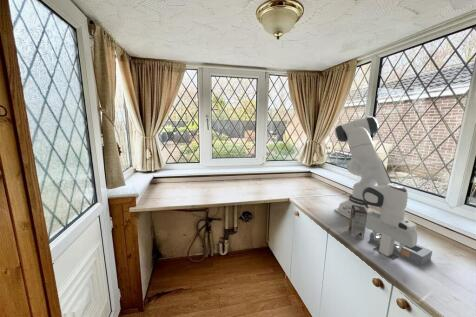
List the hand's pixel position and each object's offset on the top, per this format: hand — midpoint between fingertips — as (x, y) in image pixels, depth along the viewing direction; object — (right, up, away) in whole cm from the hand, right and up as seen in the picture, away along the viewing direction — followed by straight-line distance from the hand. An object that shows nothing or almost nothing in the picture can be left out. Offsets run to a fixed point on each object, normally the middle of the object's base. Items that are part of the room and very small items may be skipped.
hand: (386, 245), depth 96 cm
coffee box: (-5, -2, +17) cm, 18 cm away
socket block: (+9, -4, +4) cm, 11 cm away
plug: (0, -4, +1) cm, 4 cm away
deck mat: (0, -5, +1) cm, 5 cm away
